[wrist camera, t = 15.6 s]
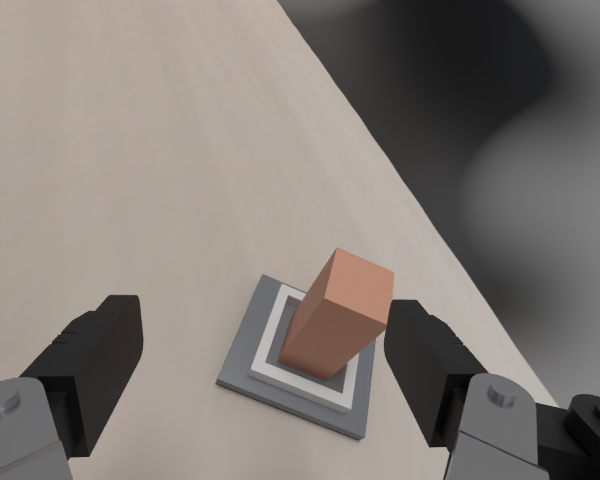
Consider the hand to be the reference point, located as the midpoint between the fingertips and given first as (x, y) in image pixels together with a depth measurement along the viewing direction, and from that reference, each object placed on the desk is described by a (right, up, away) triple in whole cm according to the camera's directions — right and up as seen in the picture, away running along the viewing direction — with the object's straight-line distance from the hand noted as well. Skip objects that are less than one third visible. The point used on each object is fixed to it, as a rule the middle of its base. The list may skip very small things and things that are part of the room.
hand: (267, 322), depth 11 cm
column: (+2, -8, +23) cm, 25 cm away
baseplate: (+1, -9, +24) cm, 26 cm away
